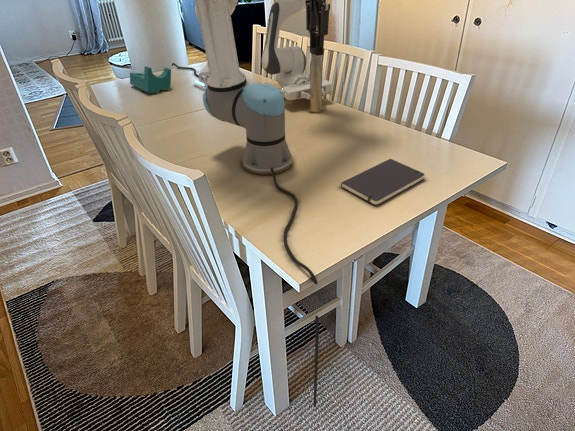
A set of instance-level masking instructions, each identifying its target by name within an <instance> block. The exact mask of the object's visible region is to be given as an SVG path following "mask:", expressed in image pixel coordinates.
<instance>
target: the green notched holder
mask: <svg viewBox="0 0 575 431" xmlns="http://www.w3.org/2000/svg"><path fill="white" fill-rule="evenodd" d="M152 70H153V69H152V67H150V66H145V65H144V72H129V84H130V85H131V86H134V87H136V88H138V89H139V90H142V91H144V92H146V93H148V94H149V93H151V94H159V93H160V90H163V91H165V90H166V91H171V83H172V82H171V81H172V68H169V67H163V71H162V72H161V74H159V75H156V74H154V73H153V71H152Z"/></svg>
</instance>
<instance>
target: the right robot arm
mask: <svg viewBox="0 0 575 431" xmlns="http://www.w3.org/2000/svg"><path fill="white" fill-rule="evenodd" d="M194 4H195V6H196V10H197V14H198V18H197V19H198V23H199V24H198V25H199V28H200V33H201V37H202V42H203V47H204V51H205V57H207V58H206V59H207V60H206V61H207V63H208V66H209V71H210V76H209V78H208V79H207V85H206V87H205V89H204V90H203V91H204V92H203V93H202V102H203V106H204V108H205V110H206V112H207V113H208V114H209V116H211V117H212V118H214V119H217V121H220V122H225V123H228V124H232V125H234V126H238V127H240V128H243V129H245V136H246V137H245V138H246V143H245V146H244V151H243V155H242V166H243V168H244V170H246V171H247V172H249V173H252V174H254V175H255V174H256V175H262V176H269V175H272V178H273V182H274V186H275V187H276V188H277V189H278V190H279V191H280V192H282V193H285V194H287V195H289V196H291V197H292V198H293V200H294V206H293V209H292V212H291V215H290V218H289V221H288V222H287V224H286V226H285V228H284V231H283V244H284V248H285V249H286V252H287V254H288V255H289V257H290V258H291V260H292V261H293V262H294V263H295V264H296V265H298V266H299V267H301V268H302V269H304V270H305V271H306V272H307V273H308V274H309V276H310V277H311V280H312V281H313V284H314V285H318V284H319V283H318V280H317V278H316V275H315V273H313V271H312V269H310V268H309V267H308V265H307V266H306V265H305V264H304V263H303V262H301V261H299V260H298V259H297V258H296V257H295V255H294V253H293V252H292V250H291V249H290V246H289V244H288V240H287V238H288V237H287V235H288V231H289V229H290V226H291V225H292V223H293V221H294V218H295V215H296V212H297V209H298V204H299V203H298V198H297V196H296V195H295V194H294V193H292V192H291V191H289V190H287V189H284V188H283V187H281V186H280V185H279V184H278V182H277V177H276V175H277V174H280V173H283V172H286V171H287V170H289V169H290V167H291V166H292V163H293V157H292V153H291V150H290V148H289V145H288V143H287V140H286V104H285V97H284V96H283V93H282V91H281V88H279V87H277V86H275V85H273V84H269V83H260V82H254V83H249V84H248V82H247V76H246V75H245V73H244V72H242V71H241V70H240V64H239V59H238V53H237V47H236V40H235V35H234V29H233V28H234V27H233V22H232V17H231V16H232V15H231V16H230V10H229V4H228V0H194ZM305 4H306V5H305V9H306V10H305V11H306V12H305V20H306V21H305V22H306V24H305V25H306V26H305V28H306V31H308V33H309V53H310V54H311V46H316V56H319V55H320V56H324V50H325V49H324V48H325V46H324V45H325V36H328V34H329V24H330V23H329V22H330V21H329V19H330V10H331V3H327V0H305ZM319 319H320V318H319V316H318V315H315V317H314V320H315V321H314V322H315V325H314V326H315V330H314V331H315V334H314V336H315V338H314V339H315V343H314V374H313V375H314V376H313V378H314V379H313V407H314V408H316V407H317V391H318V390H317V389H318V369H319V368H318V366H319V336H320V335H319V334H320V333H319V332H320V331H319V328H320V327H319V325H320V323H319V322H320V321H319Z"/></svg>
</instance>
